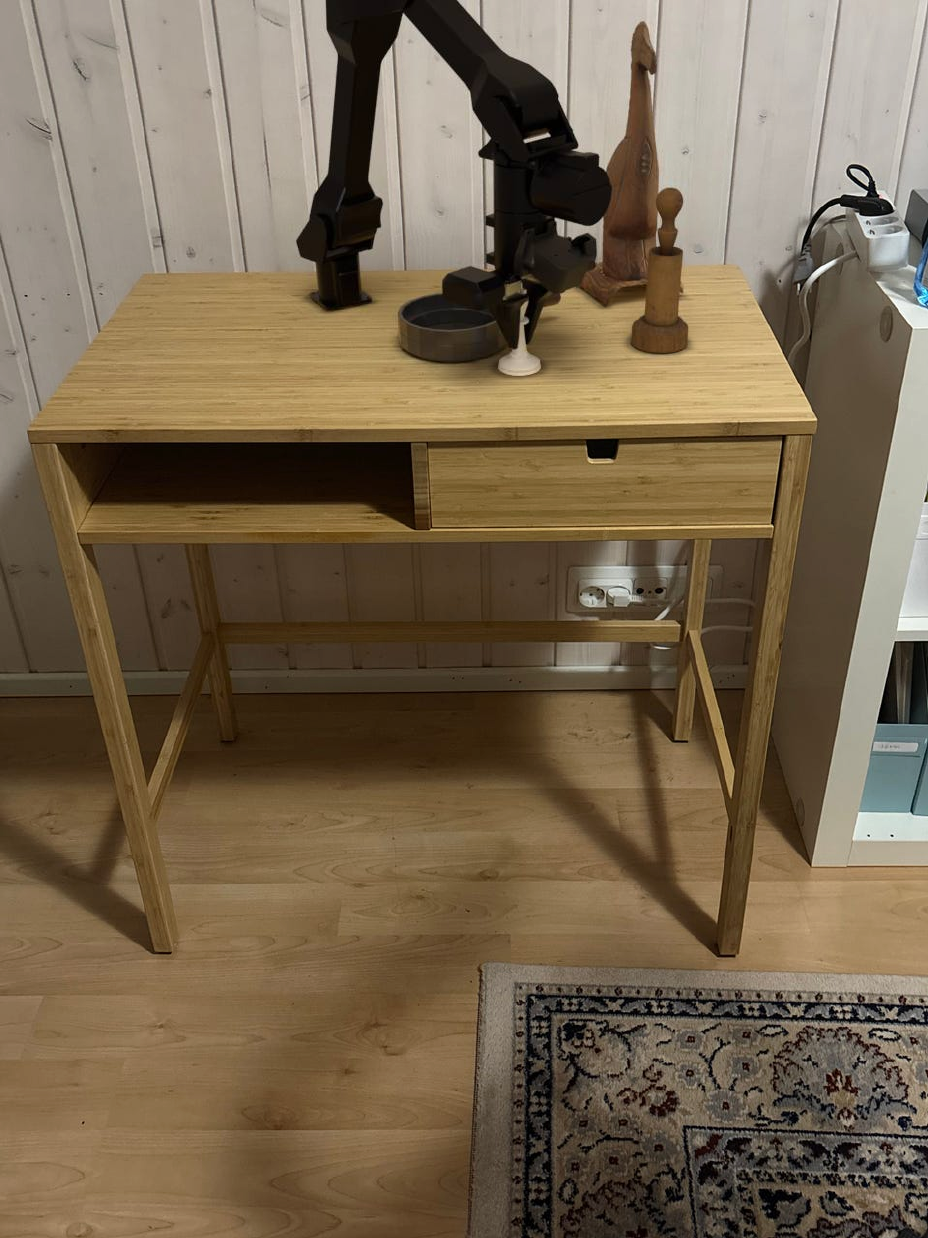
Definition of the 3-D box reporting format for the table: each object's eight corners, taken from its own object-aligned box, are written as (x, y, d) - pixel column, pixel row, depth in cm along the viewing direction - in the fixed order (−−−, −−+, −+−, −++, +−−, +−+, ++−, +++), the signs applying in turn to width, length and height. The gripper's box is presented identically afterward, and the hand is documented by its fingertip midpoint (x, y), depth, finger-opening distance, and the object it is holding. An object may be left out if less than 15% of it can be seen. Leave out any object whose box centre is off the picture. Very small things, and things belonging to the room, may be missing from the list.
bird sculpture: (608, 310, 150) (621, 33, 132) (568, 282, 159) (576, 19, 141) (685, 297, 153) (708, 25, 135) (642, 270, 162) (658, 12, 144)
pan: (382, 335, 145) (380, 304, 143) (475, 316, 150) (474, 285, 147) (429, 372, 135) (427, 339, 133) (526, 349, 140) (527, 317, 138)
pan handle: (500, 319, 143) (500, 304, 142) (493, 314, 144) (492, 300, 143) (563, 305, 146) (563, 291, 145) (556, 300, 147) (556, 286, 146)
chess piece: (518, 355, 139) (518, 271, 133) (549, 366, 136) (551, 281, 130) (489, 367, 136) (488, 283, 130) (520, 379, 133) (520, 293, 127)
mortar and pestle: (685, 333, 143) (699, 180, 133) (688, 354, 138) (702, 197, 127) (630, 333, 144) (639, 180, 133) (631, 353, 138) (641, 196, 128)
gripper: (513, 242, 115) (512, 390, 124) (635, 202, 126) (626, 341, 135) (436, 220, 122) (441, 362, 131) (558, 183, 132) (555, 317, 141)
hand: (519, 345), depth 134 cm, fingers closed on chess piece, 2 cm apart
